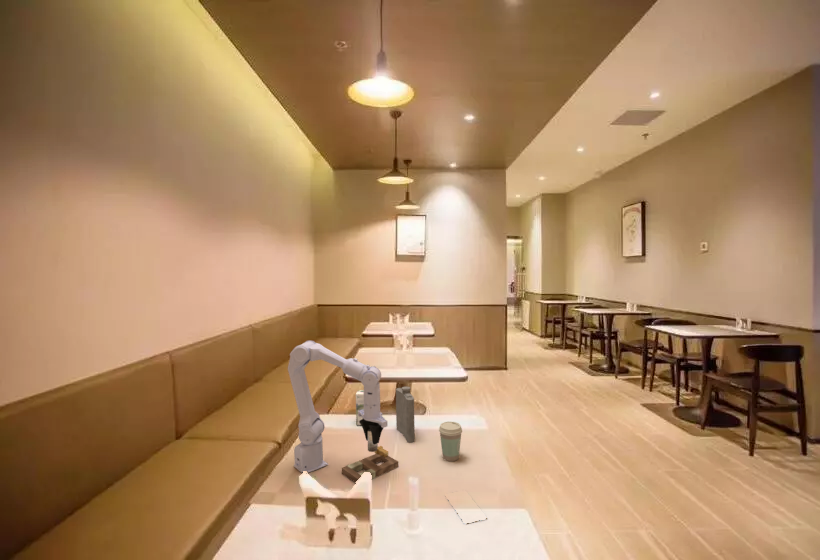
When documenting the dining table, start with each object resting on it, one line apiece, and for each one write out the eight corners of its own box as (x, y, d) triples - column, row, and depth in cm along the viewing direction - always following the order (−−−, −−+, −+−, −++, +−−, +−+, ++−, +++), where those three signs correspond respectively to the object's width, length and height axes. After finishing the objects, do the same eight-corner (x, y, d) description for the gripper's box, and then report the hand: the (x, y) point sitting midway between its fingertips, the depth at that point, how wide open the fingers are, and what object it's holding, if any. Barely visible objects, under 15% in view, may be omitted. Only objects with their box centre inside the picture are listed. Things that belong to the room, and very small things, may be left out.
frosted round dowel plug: (371, 452, 139) (371, 432, 139) (365, 449, 142) (365, 429, 141) (379, 449, 142) (379, 430, 141) (373, 446, 144) (373, 427, 144)
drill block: (358, 485, 132) (358, 479, 132) (341, 473, 139) (341, 467, 139) (398, 466, 143) (398, 461, 143) (381, 456, 150) (380, 451, 150)
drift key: (383, 458, 145) (383, 453, 145) (374, 453, 149) (374, 448, 149) (389, 455, 147) (389, 450, 147) (380, 450, 151) (380, 445, 151)
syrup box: (371, 421, 184) (370, 389, 184) (368, 426, 179) (368, 393, 178) (358, 420, 185) (358, 389, 184) (356, 425, 179) (355, 393, 178)
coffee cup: (461, 464, 144) (461, 431, 144) (437, 462, 146) (437, 429, 146) (463, 452, 153) (463, 421, 152) (440, 451, 154) (440, 420, 154)
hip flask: (395, 428, 176) (394, 382, 175) (404, 426, 178) (403, 381, 177) (408, 443, 161) (407, 394, 160) (417, 441, 163) (417, 392, 162)
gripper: (394, 405, 138) (394, 444, 139) (368, 395, 149) (369, 431, 150) (377, 410, 133) (378, 451, 134) (352, 399, 144) (353, 437, 145)
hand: (372, 441), depth 141 cm, fingers closed on frosted round dowel plug, 3 cm apart
